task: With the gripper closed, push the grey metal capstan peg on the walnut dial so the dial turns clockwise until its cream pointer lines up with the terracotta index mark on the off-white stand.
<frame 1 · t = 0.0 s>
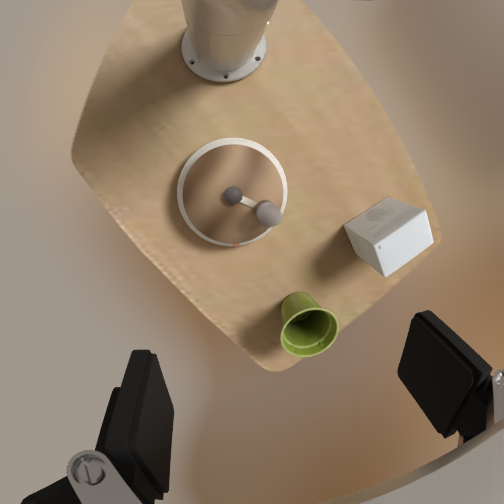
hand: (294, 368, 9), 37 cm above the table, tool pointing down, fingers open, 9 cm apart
stand: (231, 191, 44), on the table
skincare box: (372, 225, 49), on the table
plant pot: (296, 306, 52), on the table
dial: (233, 196, 39), point 5 cm above the table, hinge at 60.0°
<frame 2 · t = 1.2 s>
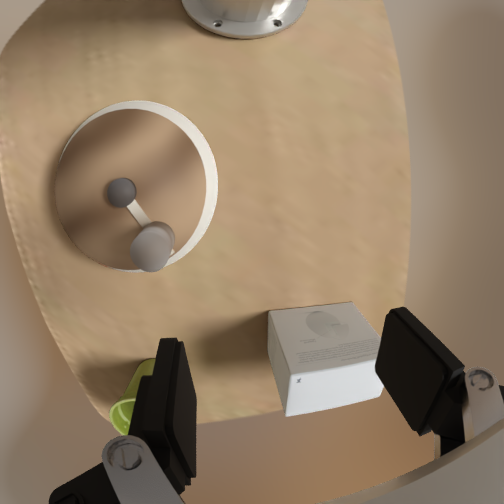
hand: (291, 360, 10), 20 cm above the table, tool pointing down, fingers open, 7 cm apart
stand: (134, 186, 26), on the table
skincare box: (310, 327, 34), on the table
plant pot: (159, 374, 34), on the table
dial: (119, 193, 21), point 5 cm above the table, hinge at 60.0°
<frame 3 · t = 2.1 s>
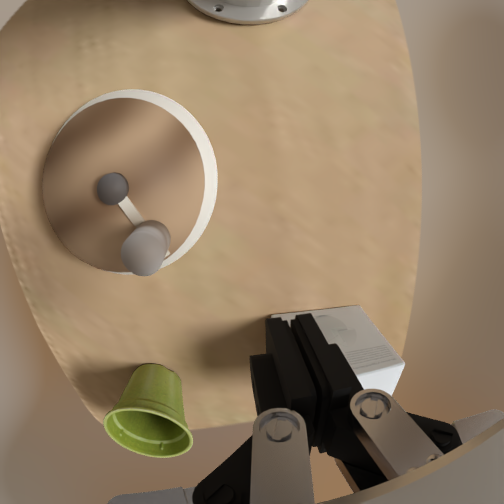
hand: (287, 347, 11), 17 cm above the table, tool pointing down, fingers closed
stand: (128, 181, 24), on the table
skincare box: (314, 331, 32), on the table
plant pot: (156, 379, 32), on the table
dial: (109, 190, 19), point 5 cm above the table, hinge at 60.0°
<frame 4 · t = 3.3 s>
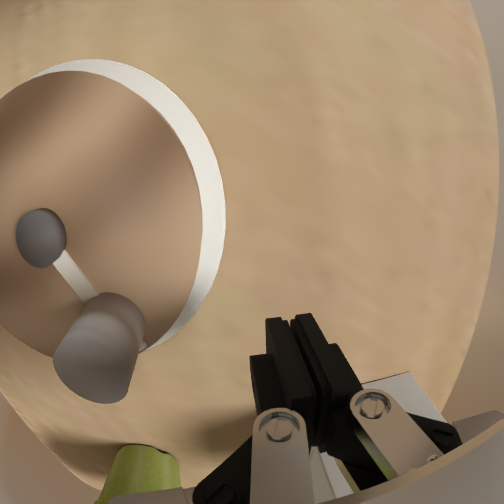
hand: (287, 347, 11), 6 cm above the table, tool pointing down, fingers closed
stand: (79, 215, 14), on the table
skincare box: (351, 406, 22), on the table
plant pot: (147, 457, 22), on the table
dial: (32, 243, 9), point 5 cm above the table, hinge at 60.0°
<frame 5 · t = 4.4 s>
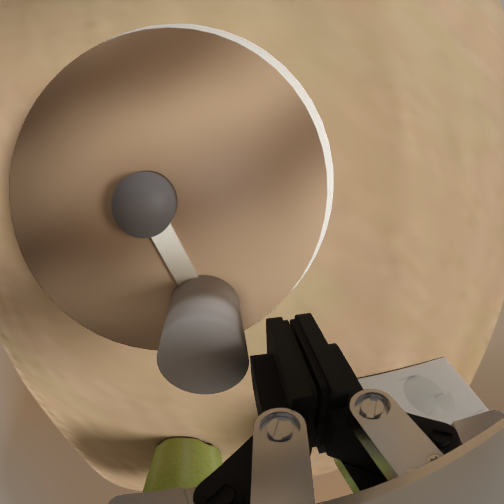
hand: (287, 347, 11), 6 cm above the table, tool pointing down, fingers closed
stand: (163, 187, 14), on the table
skincare box: (392, 390, 23), on the table
plant pot: (187, 450, 22), on the table
dial: (139, 207, 10), point 5 cm above the table, hinge at 52.4°, touching gripper
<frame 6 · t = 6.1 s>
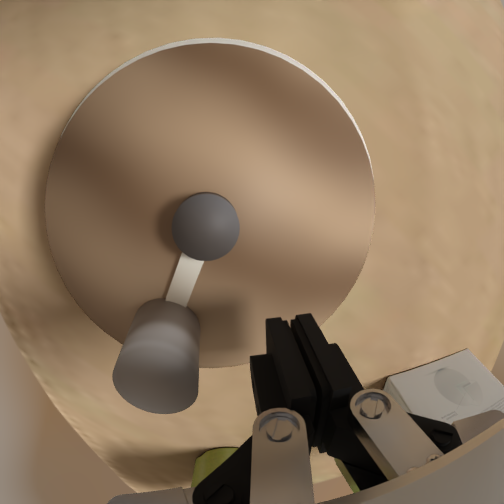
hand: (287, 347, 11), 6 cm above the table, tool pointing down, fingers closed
stand: (208, 205, 15), on the table
skincare box: (421, 384, 22), on the table
plant pot: (226, 460, 22), on the table
dial: (205, 231, 10), point 5 cm above the table, hinge at 1.9°
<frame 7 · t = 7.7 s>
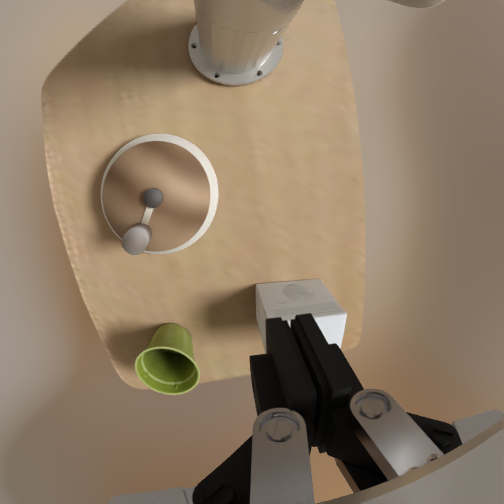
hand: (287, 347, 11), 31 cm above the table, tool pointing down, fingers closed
stand: (159, 193, 38), on the table
skincare box: (288, 298, 46), on the table
plant pot: (172, 337, 46), on the table
dial: (152, 199, 33), point 5 cm above the table, hinge at 1.9°
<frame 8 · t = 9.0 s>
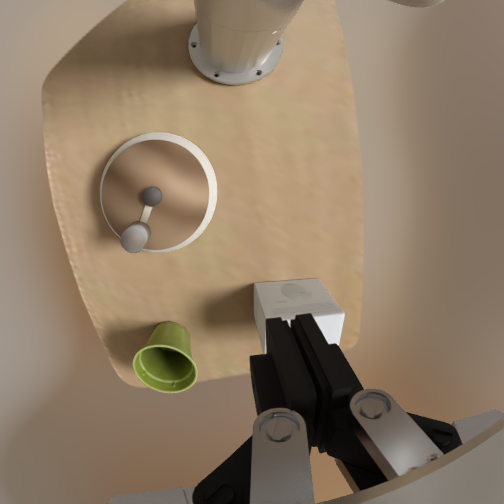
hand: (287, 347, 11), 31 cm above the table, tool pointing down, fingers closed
stand: (158, 191, 38), on the table
skincare box: (286, 297, 46), on the table
plant pot: (171, 335, 46), on the table
dial: (151, 197, 33), point 5 cm above the table, hinge at 1.9°
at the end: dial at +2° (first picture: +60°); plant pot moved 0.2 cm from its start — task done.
